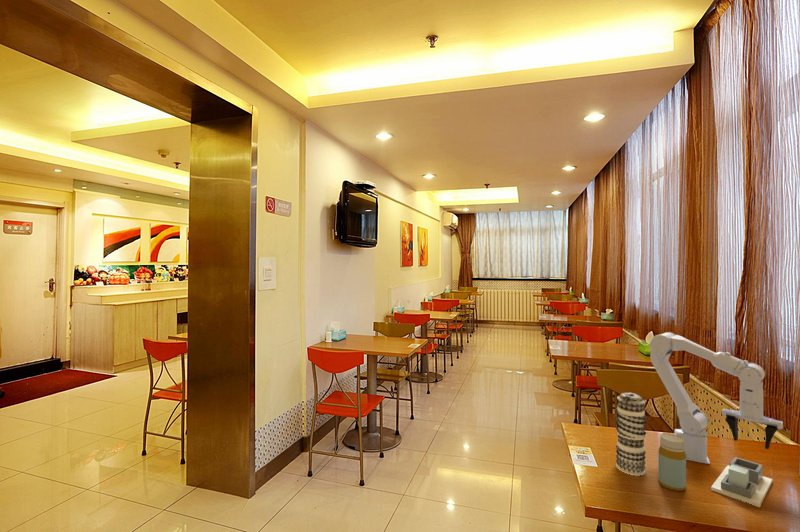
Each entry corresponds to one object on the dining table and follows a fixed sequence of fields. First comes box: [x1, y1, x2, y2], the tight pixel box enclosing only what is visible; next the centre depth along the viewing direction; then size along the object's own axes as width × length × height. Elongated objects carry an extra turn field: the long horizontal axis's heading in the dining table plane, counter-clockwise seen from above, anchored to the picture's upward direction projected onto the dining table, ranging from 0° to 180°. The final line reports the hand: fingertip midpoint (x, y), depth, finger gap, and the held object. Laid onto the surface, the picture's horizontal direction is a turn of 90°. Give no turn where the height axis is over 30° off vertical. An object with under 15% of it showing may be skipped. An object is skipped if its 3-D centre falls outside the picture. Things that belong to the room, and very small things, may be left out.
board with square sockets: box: [710, 456, 773, 508], centre depth 122 cm, size 20×11×5 cm, turn 129°
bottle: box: [657, 432, 687, 492], centre depth 122 cm, size 7×7×15 cm
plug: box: [728, 465, 749, 490], centre depth 119 cm, size 5×4×6 cm
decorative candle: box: [614, 392, 648, 477], centre depth 132 cm, size 9×9×25 cm
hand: (751, 443), depth 127 cm, fingers open, 7 cm apart
